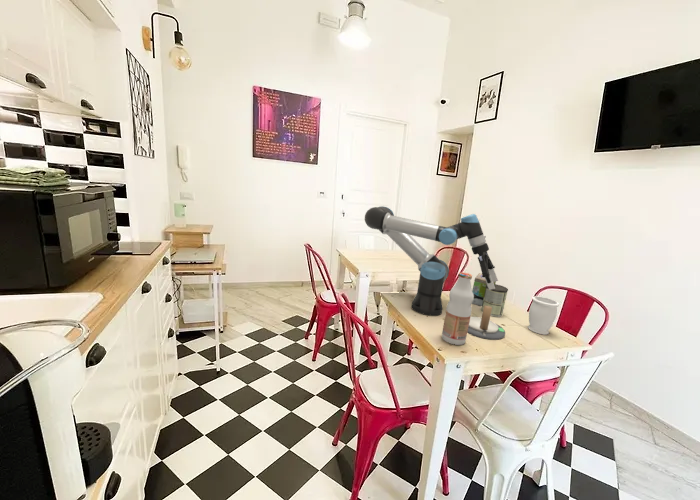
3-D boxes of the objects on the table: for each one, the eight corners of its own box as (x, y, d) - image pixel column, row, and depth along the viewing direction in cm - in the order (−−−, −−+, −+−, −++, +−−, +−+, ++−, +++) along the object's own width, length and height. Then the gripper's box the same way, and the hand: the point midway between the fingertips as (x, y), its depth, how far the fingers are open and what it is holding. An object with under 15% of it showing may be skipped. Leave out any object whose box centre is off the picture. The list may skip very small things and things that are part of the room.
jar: (520, 326, 146) (527, 296, 143) (535, 324, 150) (542, 295, 146) (540, 337, 136) (548, 305, 133) (556, 335, 140) (564, 304, 137)
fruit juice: (438, 340, 123) (450, 273, 117) (444, 331, 131) (455, 269, 126) (463, 348, 119) (476, 279, 113) (466, 338, 127) (479, 274, 121)
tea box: (488, 308, 165) (493, 282, 162) (469, 303, 170) (474, 277, 167) (492, 300, 178) (497, 276, 175) (473, 296, 183) (478, 272, 180)
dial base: (459, 333, 131) (459, 330, 131) (455, 315, 150) (456, 313, 150) (509, 343, 127) (510, 340, 126) (499, 324, 146) (500, 321, 145)
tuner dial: (463, 316, 146) (467, 294, 144) (494, 322, 143) (499, 300, 141) (467, 331, 131) (471, 306, 129) (502, 338, 128) (507, 313, 126)
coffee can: (478, 307, 165) (483, 282, 162) (498, 310, 164) (503, 285, 161) (484, 315, 155) (490, 288, 152) (505, 318, 154) (511, 291, 151)
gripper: (482, 246, 139) (499, 290, 139) (489, 238, 160) (503, 276, 160) (466, 251, 143) (482, 294, 143) (475, 243, 164) (489, 280, 164)
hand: (493, 285), depth 152 cm, fingers open, 13 cm apart
